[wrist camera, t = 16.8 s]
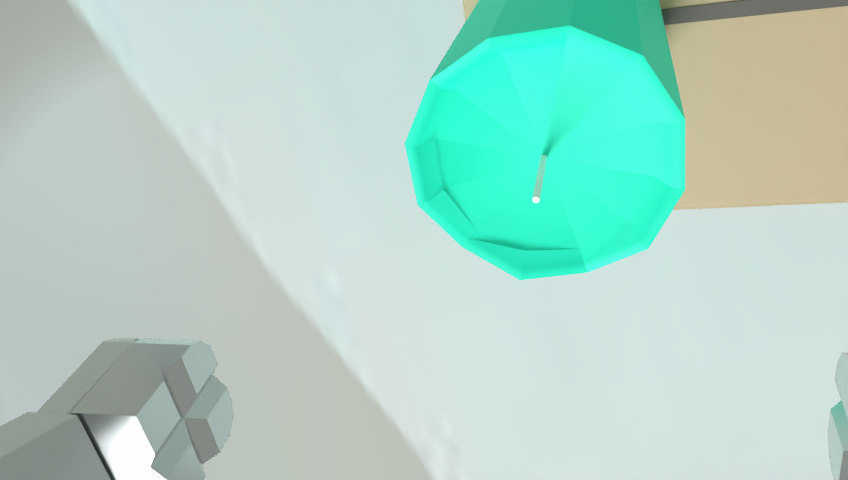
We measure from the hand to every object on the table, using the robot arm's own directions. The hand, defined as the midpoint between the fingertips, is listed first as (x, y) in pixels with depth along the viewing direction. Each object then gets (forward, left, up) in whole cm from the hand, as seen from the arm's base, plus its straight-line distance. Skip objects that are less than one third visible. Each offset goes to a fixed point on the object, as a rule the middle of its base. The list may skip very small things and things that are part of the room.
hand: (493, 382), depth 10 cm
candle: (0, 0, -18) cm, 18 cm away
